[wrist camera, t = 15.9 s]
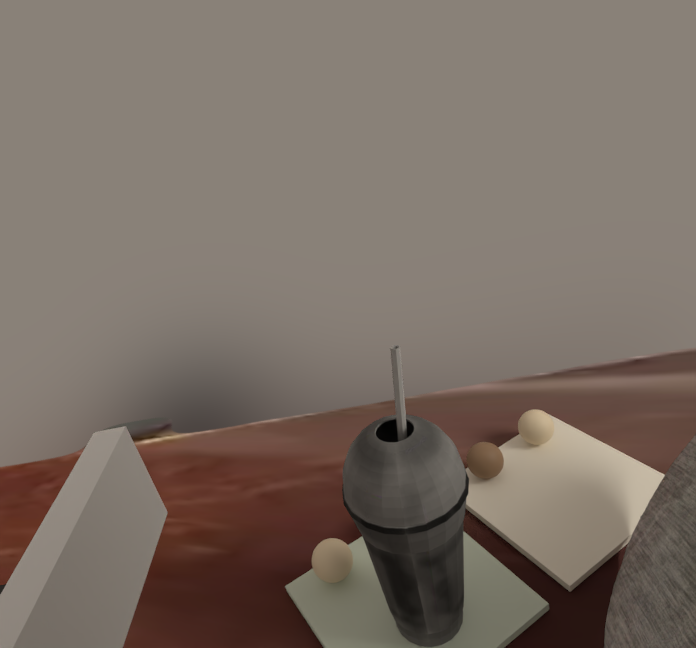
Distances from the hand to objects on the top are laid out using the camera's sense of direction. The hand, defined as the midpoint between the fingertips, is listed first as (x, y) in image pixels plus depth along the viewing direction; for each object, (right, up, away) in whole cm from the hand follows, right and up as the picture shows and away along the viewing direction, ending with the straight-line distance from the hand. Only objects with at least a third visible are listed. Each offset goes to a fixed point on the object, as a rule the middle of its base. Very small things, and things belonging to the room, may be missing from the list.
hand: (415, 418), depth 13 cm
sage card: (+3, -17, +27) cm, 32 cm away
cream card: (+15, -11, +33) cm, 38 cm away
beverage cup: (+4, -17, +25) cm, 31 cm away
